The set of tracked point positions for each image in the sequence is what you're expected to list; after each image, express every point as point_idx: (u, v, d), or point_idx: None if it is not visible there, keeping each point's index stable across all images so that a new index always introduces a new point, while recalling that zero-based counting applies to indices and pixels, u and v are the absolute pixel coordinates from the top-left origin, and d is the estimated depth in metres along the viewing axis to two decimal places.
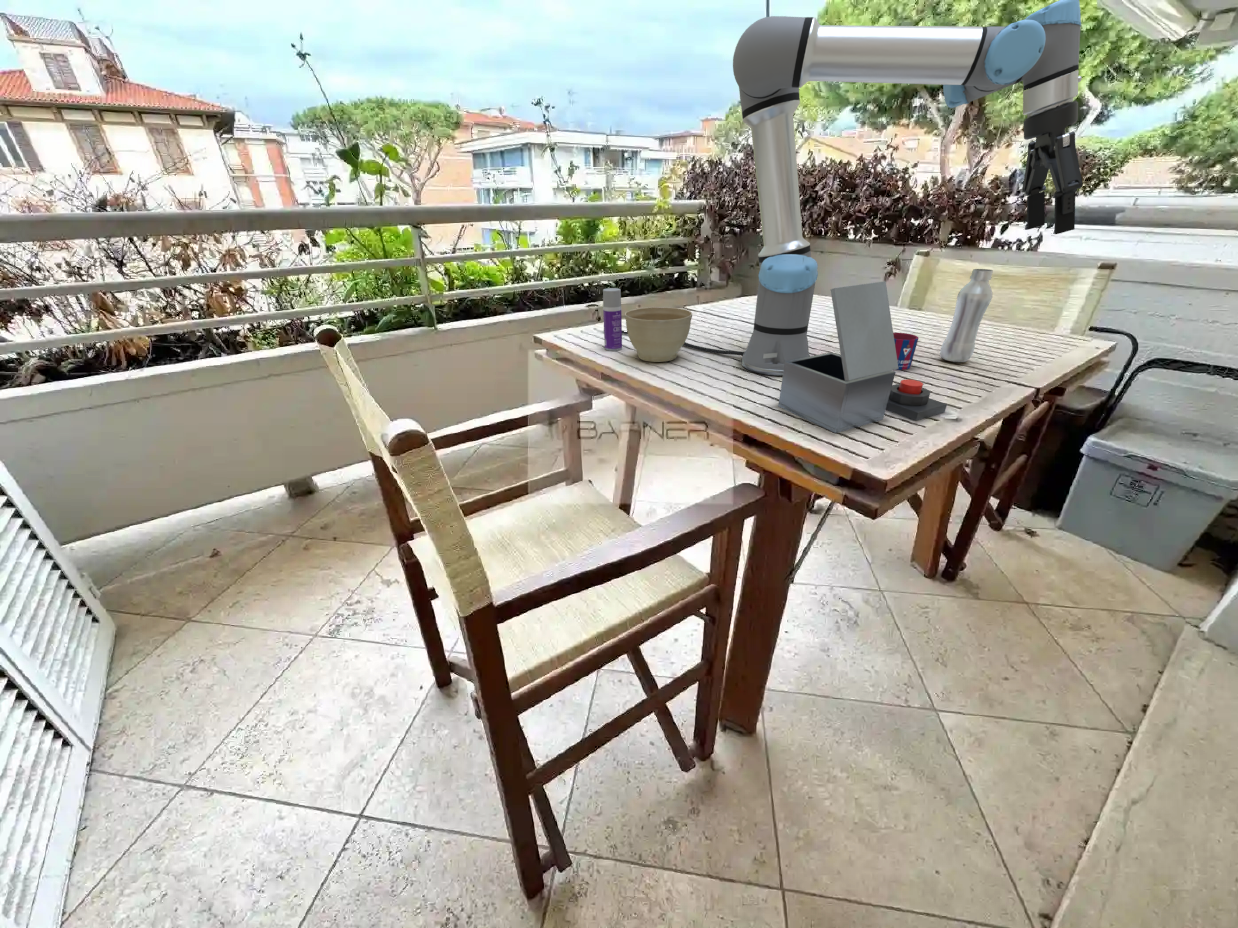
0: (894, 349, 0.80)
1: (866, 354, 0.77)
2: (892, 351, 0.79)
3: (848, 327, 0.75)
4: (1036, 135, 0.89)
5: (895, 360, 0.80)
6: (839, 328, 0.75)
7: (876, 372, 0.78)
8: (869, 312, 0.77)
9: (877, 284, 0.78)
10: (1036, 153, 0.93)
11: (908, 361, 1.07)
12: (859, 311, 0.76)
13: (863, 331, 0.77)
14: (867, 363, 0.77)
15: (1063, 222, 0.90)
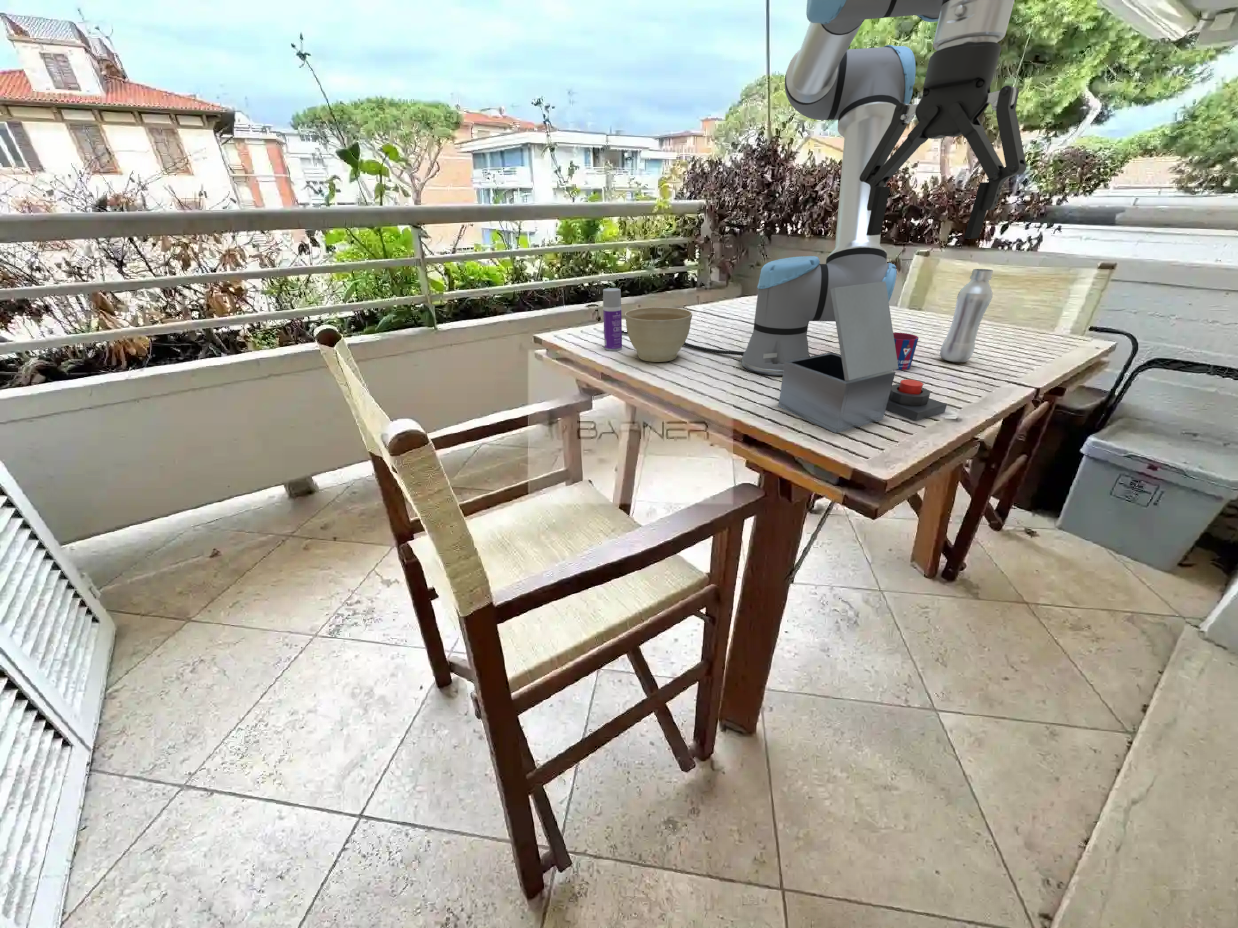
0: (894, 349, 0.80)
1: (866, 354, 0.77)
2: (892, 351, 0.79)
3: (848, 327, 0.75)
4: None
5: (895, 360, 0.80)
6: (839, 328, 0.75)
7: (876, 372, 0.78)
8: (869, 312, 0.77)
9: (877, 284, 0.78)
10: None
11: (908, 361, 1.07)
12: (859, 311, 0.76)
13: (863, 331, 0.77)
14: (867, 363, 0.77)
15: None
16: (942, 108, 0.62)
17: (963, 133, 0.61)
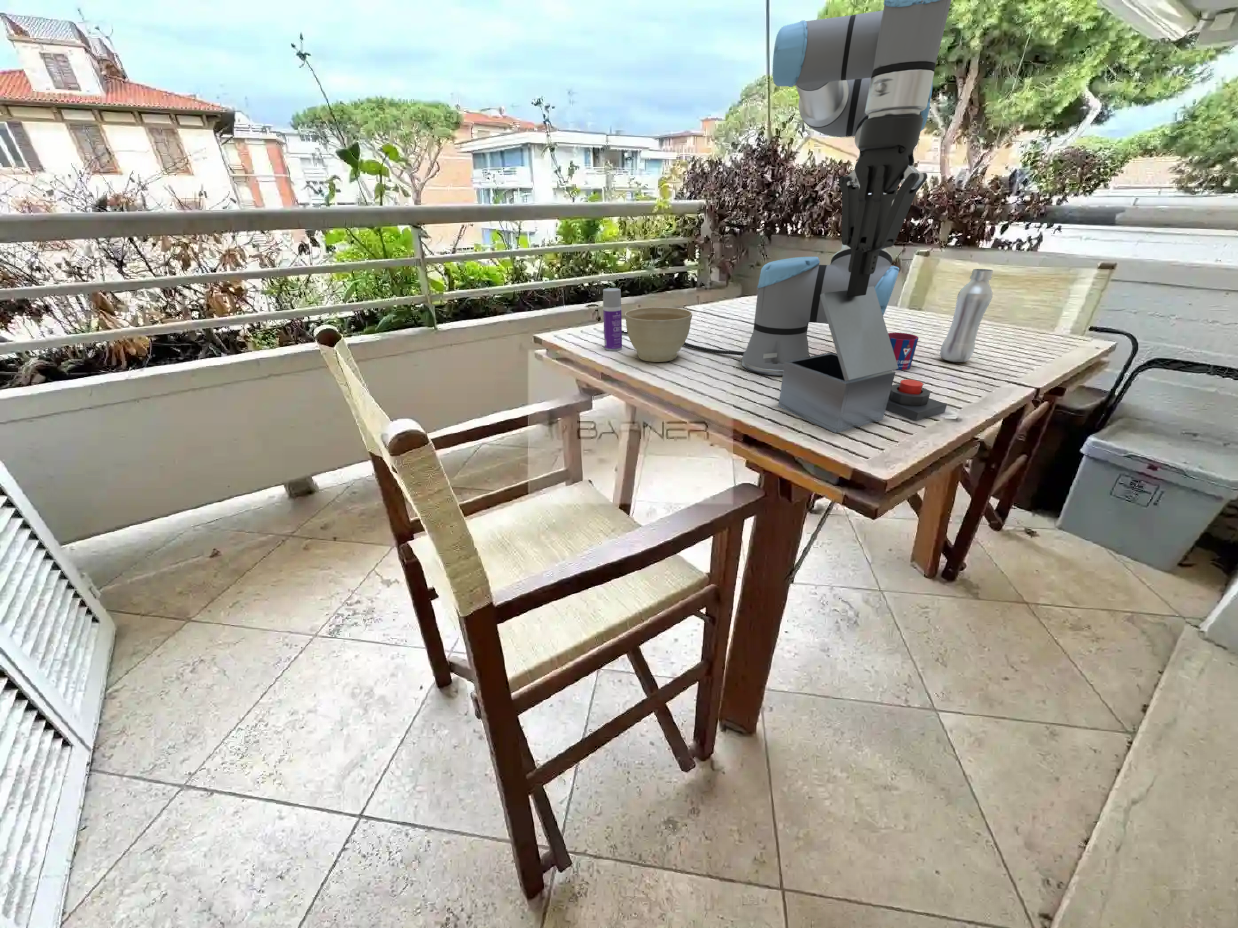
0: (891, 349, 0.80)
1: (863, 354, 0.77)
2: (890, 351, 0.80)
3: (842, 329, 0.77)
4: None
5: (894, 360, 0.80)
6: (833, 330, 0.76)
7: (876, 372, 0.78)
8: (861, 315, 0.79)
9: None
10: None
11: (908, 361, 1.07)
12: (851, 314, 0.78)
13: (857, 333, 0.78)
14: (866, 363, 0.77)
15: None
16: (874, 154, 0.68)
17: (873, 196, 0.69)
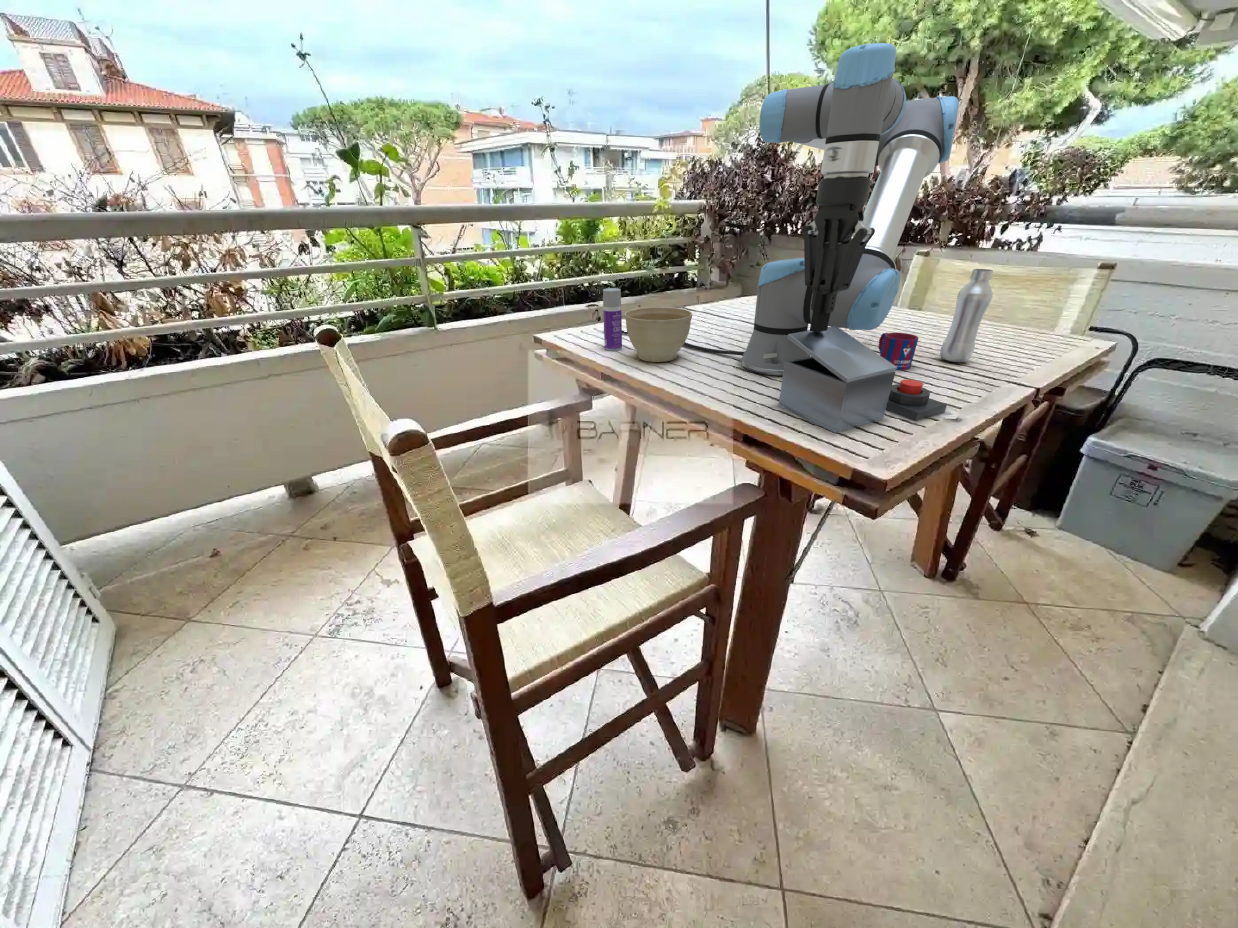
0: (881, 357, 0.82)
1: (853, 362, 0.80)
2: (880, 358, 0.82)
3: (820, 350, 0.81)
4: None
5: (888, 363, 0.81)
6: (811, 353, 0.81)
7: (874, 371, 0.78)
8: (834, 341, 0.84)
9: (829, 328, 0.88)
10: None
11: (908, 361, 1.07)
12: (823, 342, 0.84)
13: (837, 351, 0.82)
14: (859, 367, 0.79)
15: None
16: (830, 209, 0.77)
17: (830, 246, 0.78)
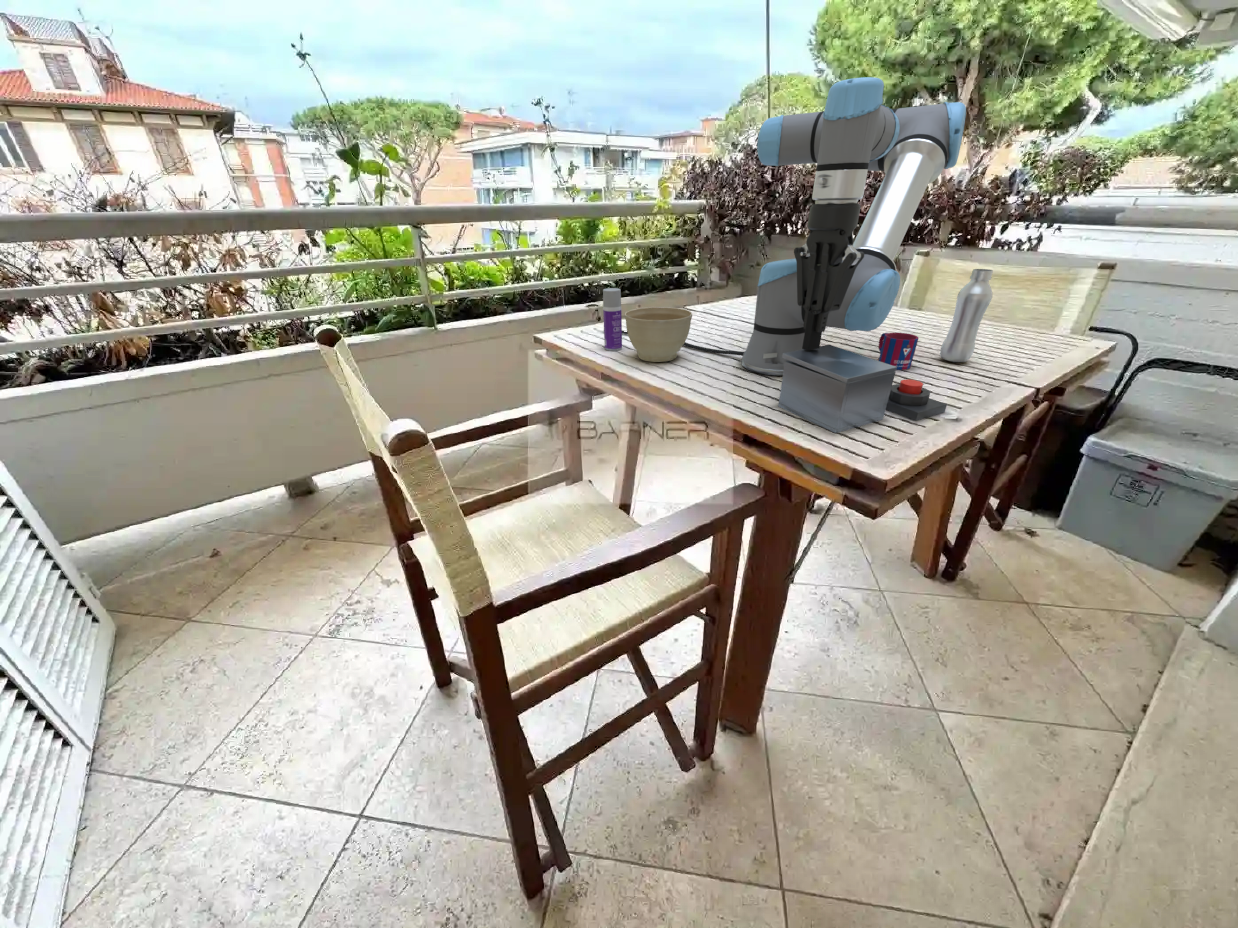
0: (878, 361, 0.83)
1: (850, 367, 0.80)
2: (877, 362, 0.82)
3: (815, 362, 0.83)
4: None
5: (887, 364, 0.81)
6: (808, 364, 0.82)
7: (873, 371, 0.78)
8: (829, 354, 0.86)
9: (823, 346, 0.90)
10: None
11: (908, 361, 1.07)
12: (818, 355, 0.85)
13: (833, 361, 0.83)
14: (857, 369, 0.79)
15: None
16: (821, 233, 0.79)
17: (821, 268, 0.80)
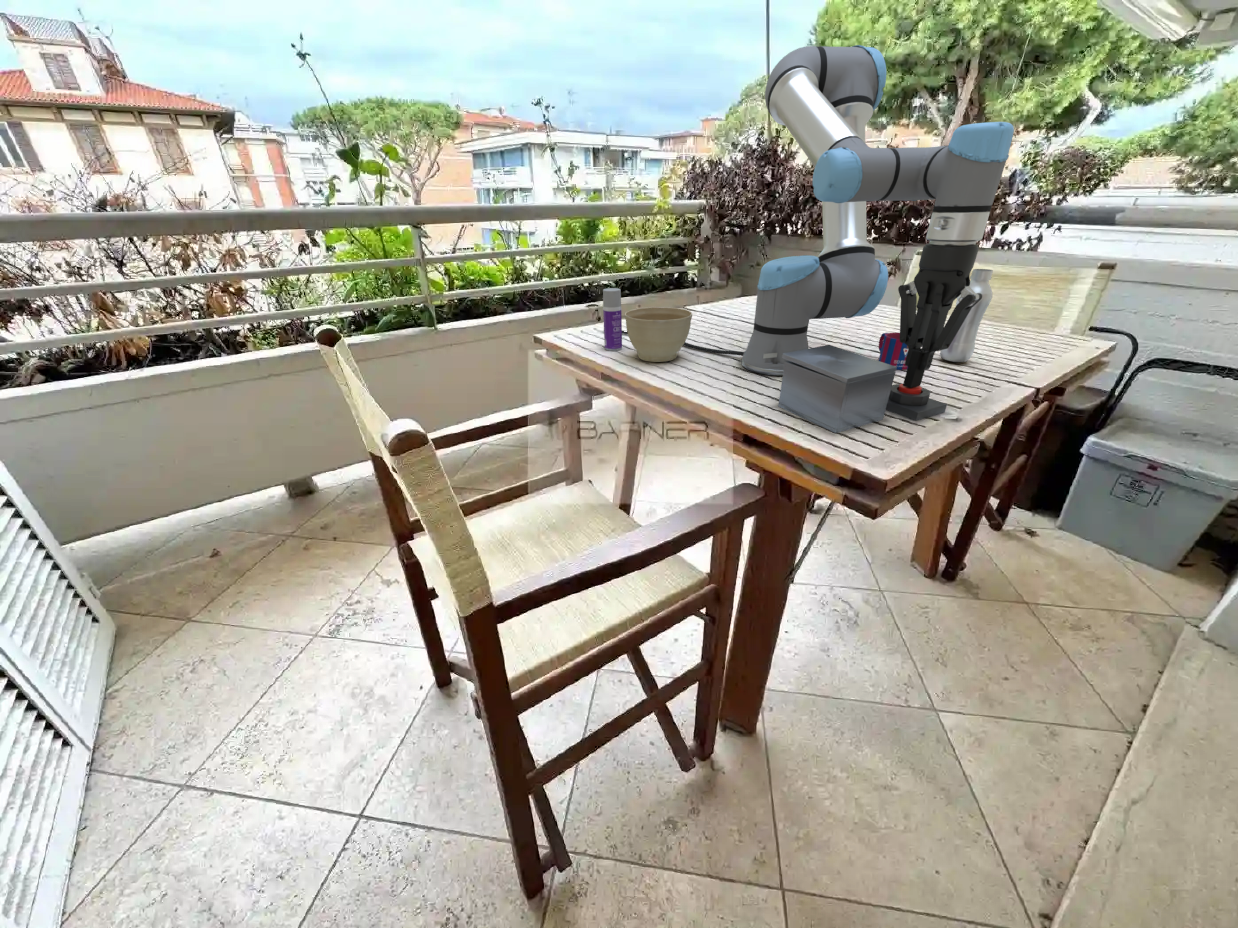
0: (878, 361, 0.83)
1: (850, 367, 0.80)
2: (877, 362, 0.82)
3: (815, 362, 0.83)
4: None
5: (887, 364, 0.81)
6: (808, 364, 0.82)
7: (873, 371, 0.78)
8: (829, 354, 0.86)
9: (823, 346, 0.90)
10: None
11: None
12: (818, 356, 0.85)
13: (833, 361, 0.83)
14: (857, 369, 0.79)
15: None
16: (933, 272, 0.78)
17: (932, 308, 0.79)
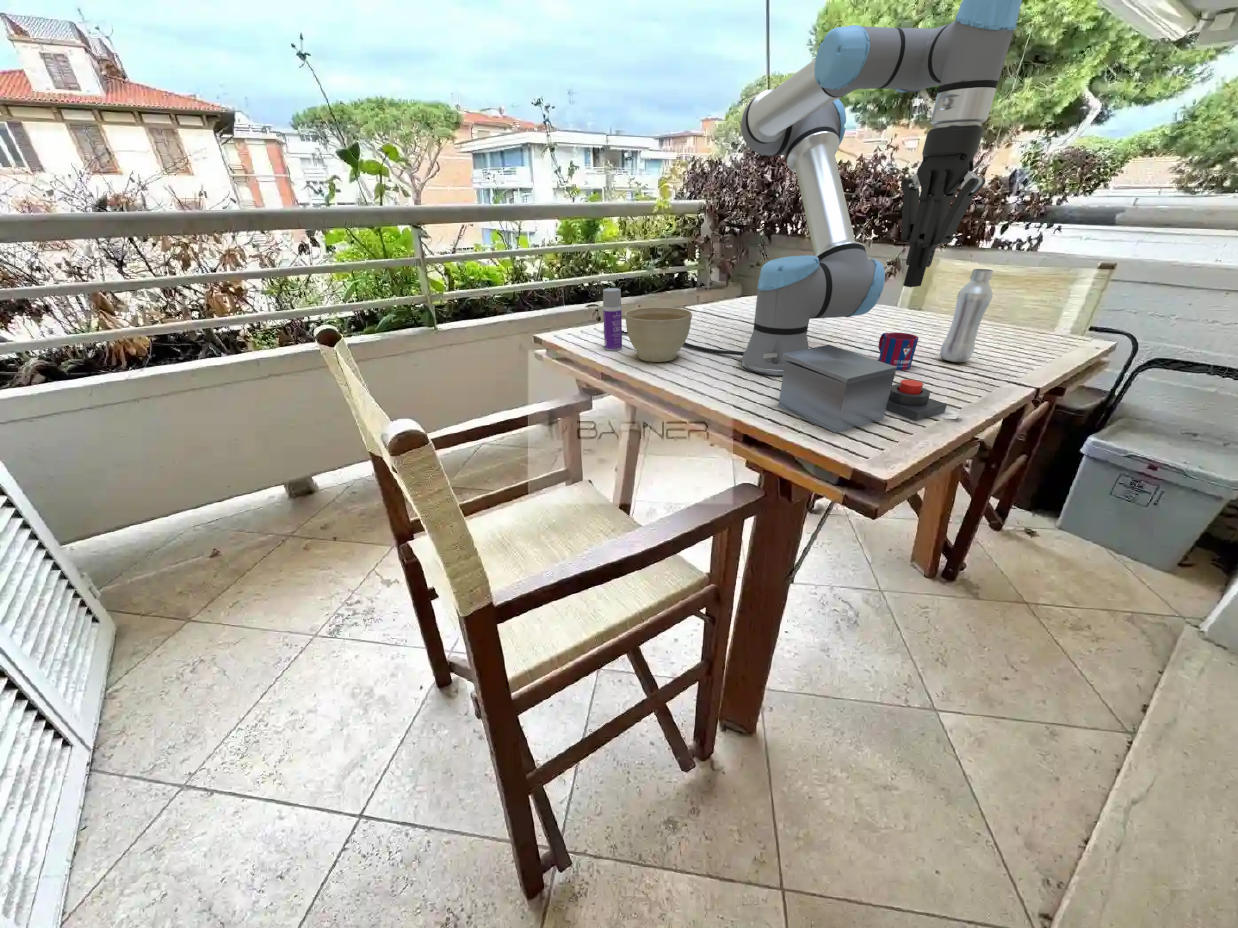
0: (878, 361, 0.83)
1: (850, 367, 0.80)
2: (877, 362, 0.82)
3: (815, 362, 0.83)
4: None
5: (887, 364, 0.81)
6: (808, 364, 0.82)
7: (873, 371, 0.78)
8: (829, 354, 0.86)
9: (823, 346, 0.90)
10: None
11: (908, 361, 1.07)
12: (818, 356, 0.85)
13: (833, 361, 0.83)
14: (857, 369, 0.79)
15: None
16: (937, 160, 0.77)
17: (934, 198, 0.78)
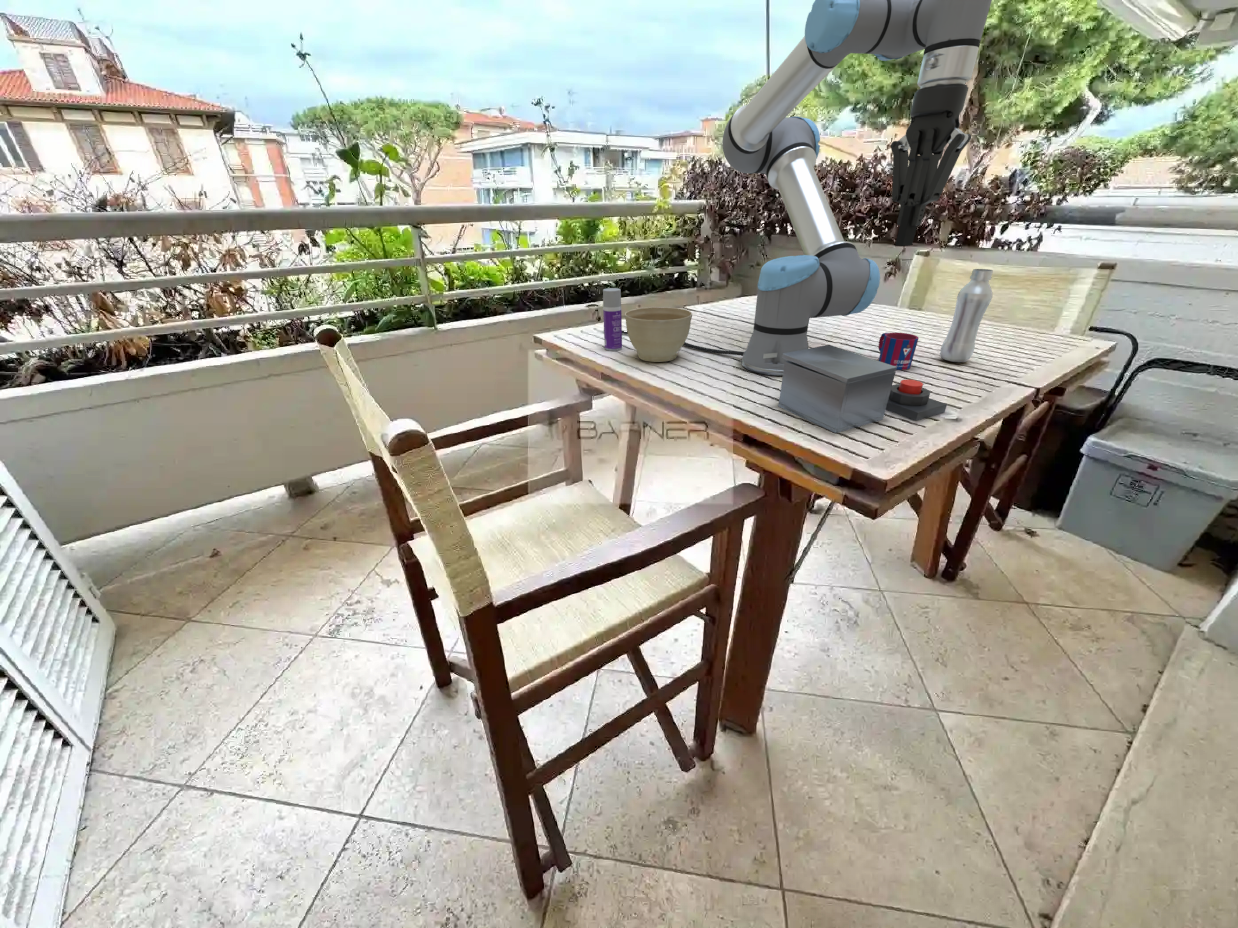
0: (878, 361, 0.83)
1: (850, 367, 0.80)
2: (877, 362, 0.82)
3: (815, 362, 0.83)
4: None
5: (887, 364, 0.81)
6: (808, 364, 0.82)
7: (873, 371, 0.78)
8: (829, 354, 0.86)
9: (823, 346, 0.90)
10: None
11: (908, 361, 1.07)
12: (818, 356, 0.85)
13: (833, 361, 0.83)
14: (857, 369, 0.79)
15: None
16: (924, 120, 0.80)
17: (923, 156, 0.81)
